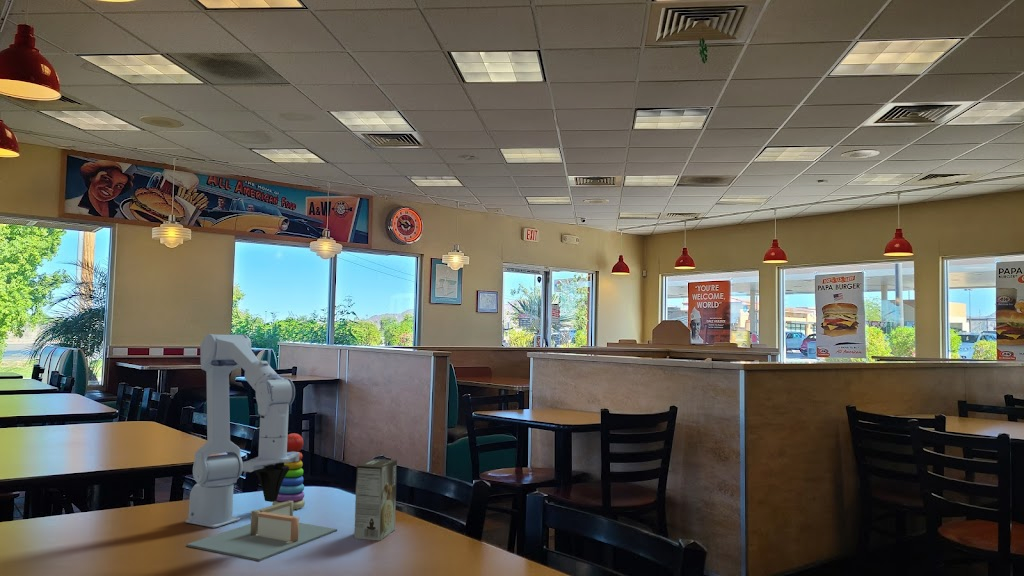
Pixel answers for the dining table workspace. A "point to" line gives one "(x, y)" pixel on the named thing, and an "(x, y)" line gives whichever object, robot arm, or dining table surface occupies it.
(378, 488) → the coffee box
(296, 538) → the hinged fence panel
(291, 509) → the fence fixed
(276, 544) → the mat
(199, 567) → the dining table surface
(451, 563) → the dining table surface
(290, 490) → the stacking toy
